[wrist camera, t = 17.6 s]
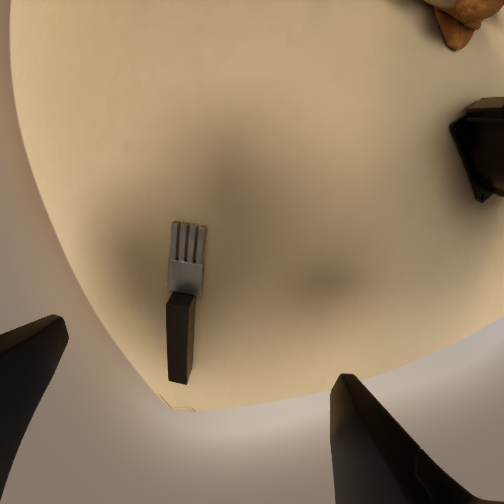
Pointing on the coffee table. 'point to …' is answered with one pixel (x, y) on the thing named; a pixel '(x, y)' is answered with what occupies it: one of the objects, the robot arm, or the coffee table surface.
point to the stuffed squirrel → (462, 18)
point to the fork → (183, 298)
